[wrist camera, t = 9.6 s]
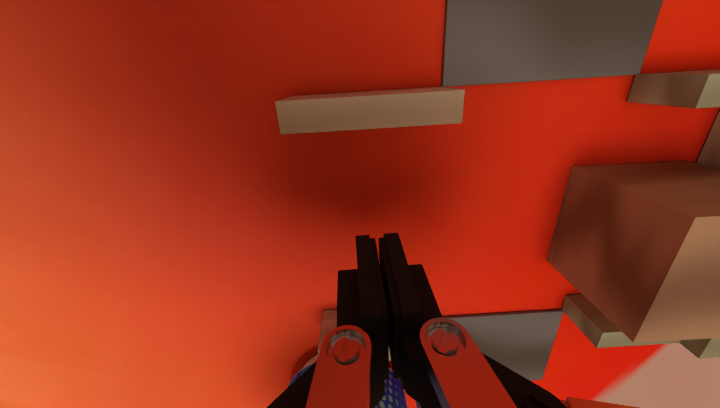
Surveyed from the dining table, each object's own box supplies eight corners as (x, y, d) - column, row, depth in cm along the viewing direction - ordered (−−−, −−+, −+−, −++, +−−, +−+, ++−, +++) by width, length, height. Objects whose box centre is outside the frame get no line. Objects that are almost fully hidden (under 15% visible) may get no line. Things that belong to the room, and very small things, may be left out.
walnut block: (571, 165, 15) (695, 217, 10) (683, 160, 15) (871, 207, 10) (545, 259, 18) (633, 342, 12) (642, 254, 18) (772, 335, 12)
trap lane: (260, -111, 10) (209, -213, 7) (867, -149, 10) (1153, -273, 7) (334, 389, 22) (331, 452, 18) (617, 372, 22) (670, 431, 18)
